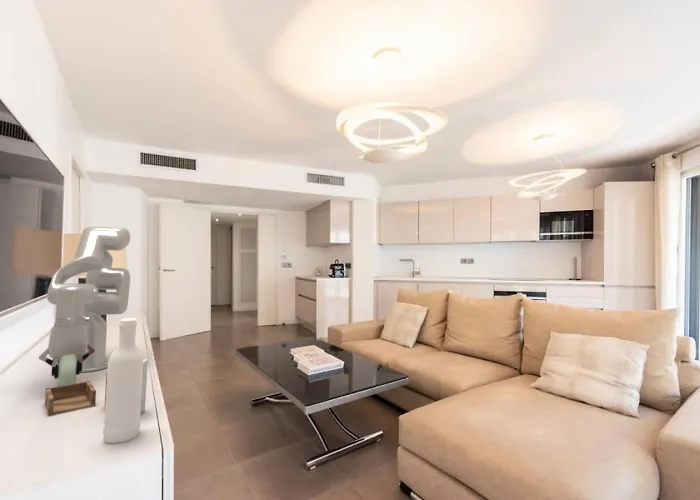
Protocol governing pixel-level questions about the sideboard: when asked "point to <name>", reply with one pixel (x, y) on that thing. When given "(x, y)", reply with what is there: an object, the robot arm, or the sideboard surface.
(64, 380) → the bottle
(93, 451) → the sideboard surface
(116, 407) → the bottle
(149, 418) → the sideboard surface
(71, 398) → the u rest
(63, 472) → the sideboard surface
